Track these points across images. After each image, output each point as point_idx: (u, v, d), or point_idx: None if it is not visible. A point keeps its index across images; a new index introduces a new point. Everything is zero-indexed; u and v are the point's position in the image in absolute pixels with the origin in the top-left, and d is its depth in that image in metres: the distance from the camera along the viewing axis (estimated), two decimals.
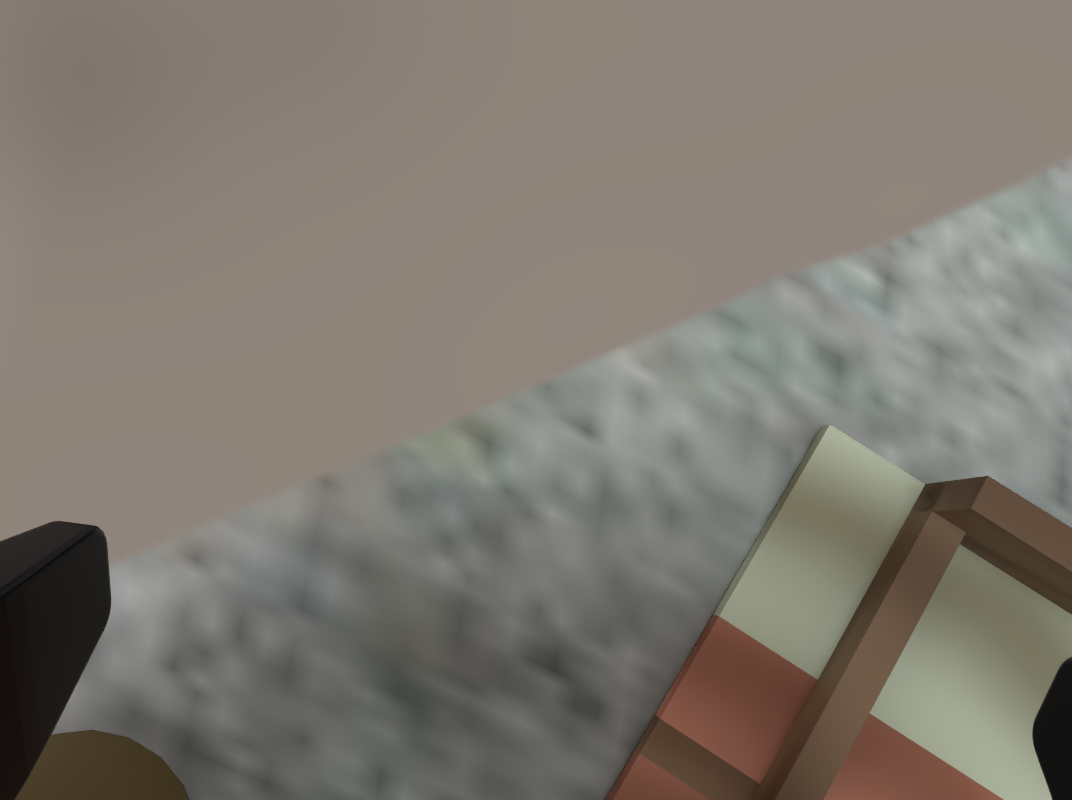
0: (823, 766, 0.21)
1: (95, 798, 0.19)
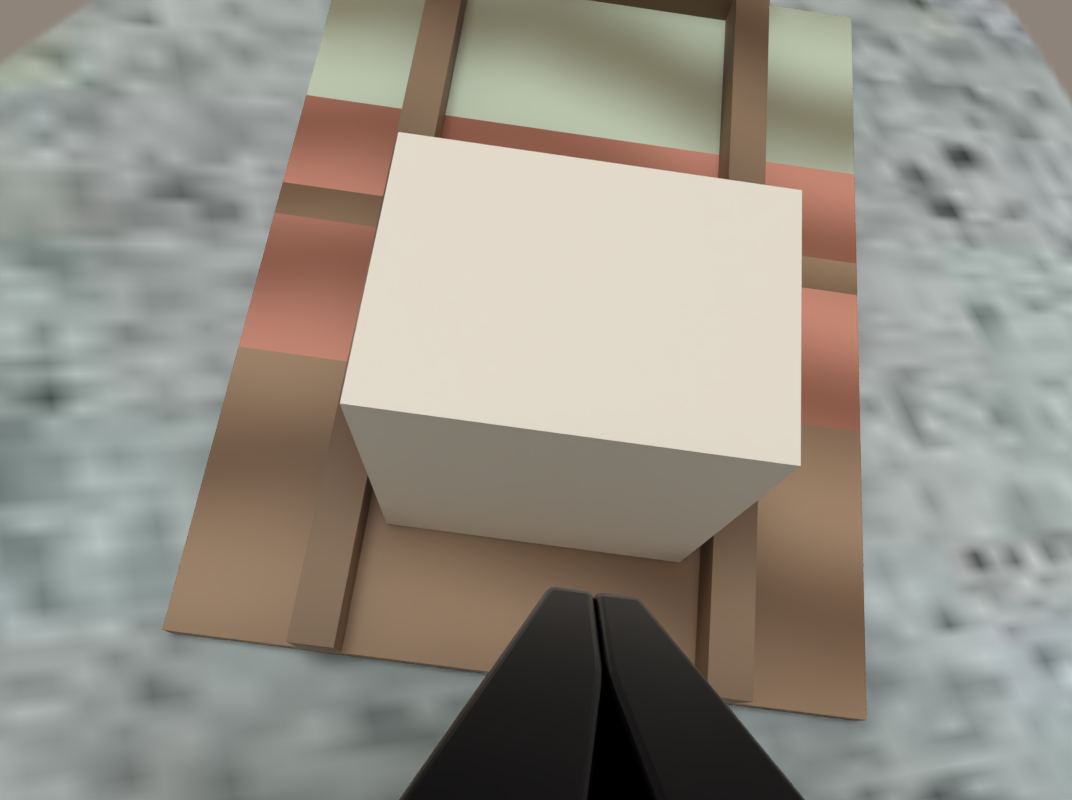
0: None
1: None
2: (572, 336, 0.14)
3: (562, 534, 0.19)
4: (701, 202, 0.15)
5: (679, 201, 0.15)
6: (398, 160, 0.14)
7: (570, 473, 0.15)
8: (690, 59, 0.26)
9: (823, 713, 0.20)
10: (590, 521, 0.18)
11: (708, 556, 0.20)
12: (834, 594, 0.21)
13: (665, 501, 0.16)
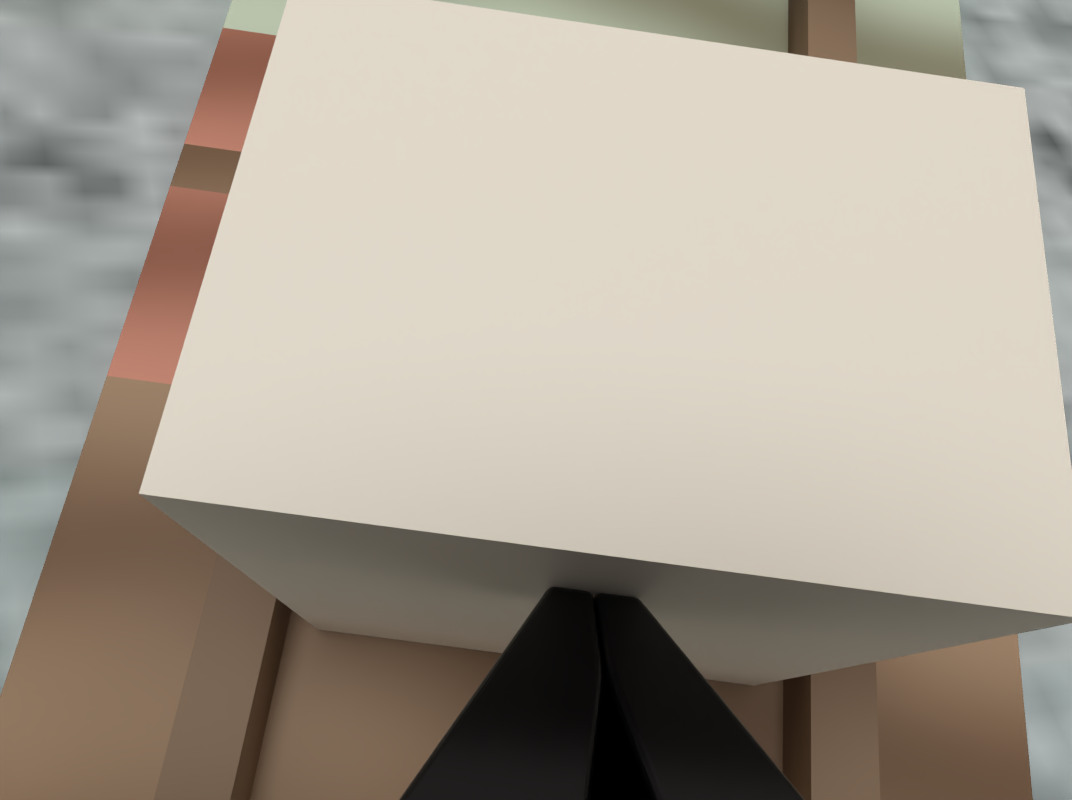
0: None
1: None
2: (617, 353, 0.07)
3: None
4: (847, 107, 0.08)
5: (807, 104, 0.08)
6: (290, 27, 0.08)
7: None
8: None
9: None
10: None
11: (801, 697, 0.13)
12: (985, 746, 0.14)
13: (768, 638, 0.09)
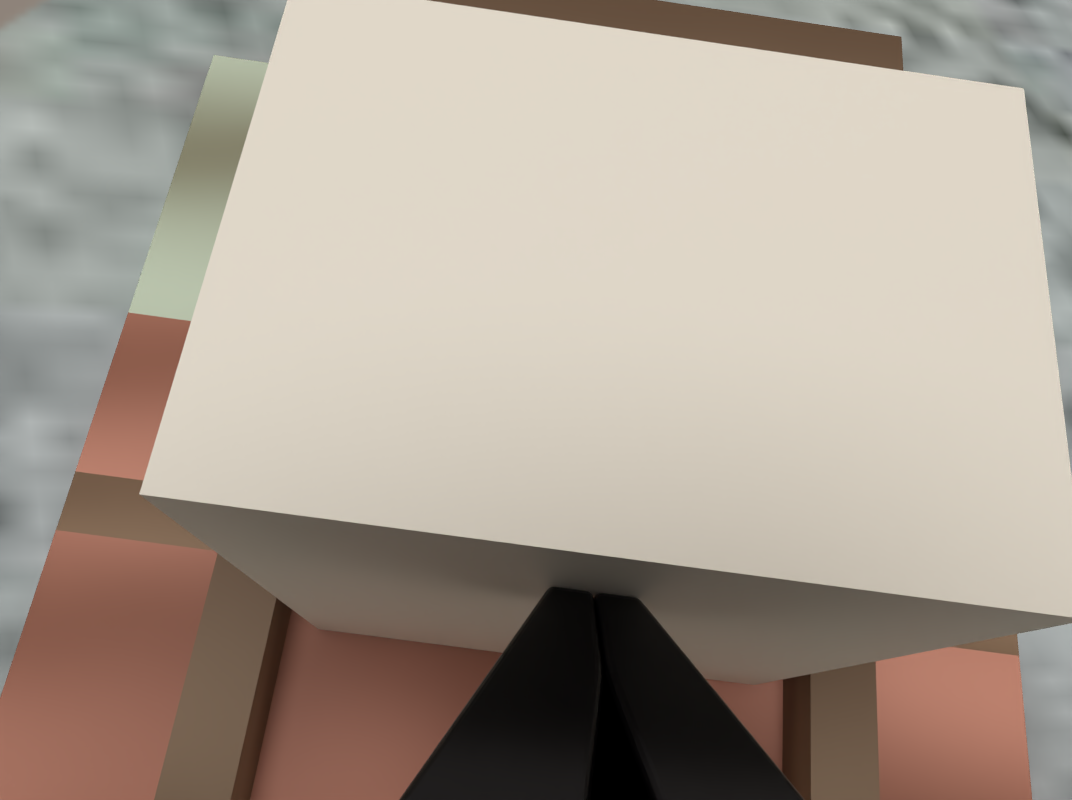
0: None
1: None
2: (617, 353, 0.07)
3: None
4: (847, 107, 0.08)
5: (807, 105, 0.08)
6: (290, 27, 0.08)
7: None
8: None
9: None
10: None
11: None
12: None
13: (767, 638, 0.09)
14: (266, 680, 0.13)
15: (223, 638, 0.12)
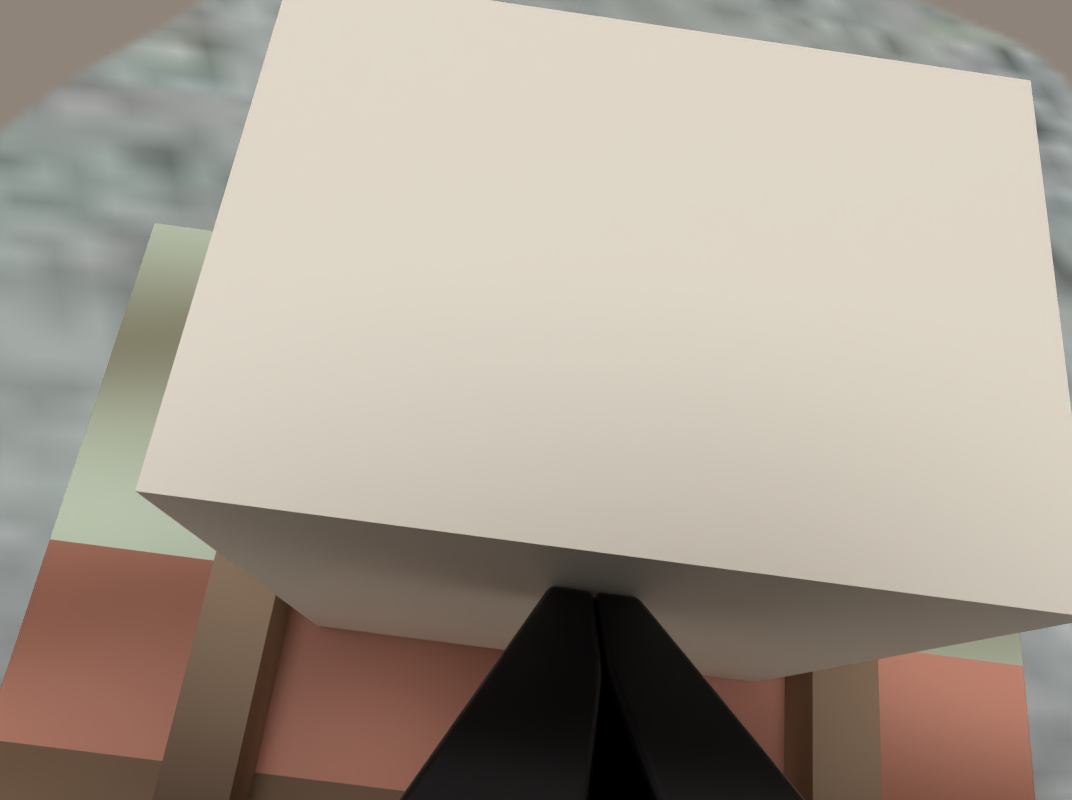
0: (230, 677, 0.12)
1: None
2: (619, 350, 0.07)
3: None
4: (851, 99, 0.08)
5: (811, 97, 0.08)
6: (288, 18, 0.08)
7: None
8: None
9: None
10: None
11: None
12: None
13: (770, 635, 0.09)
14: None
15: None
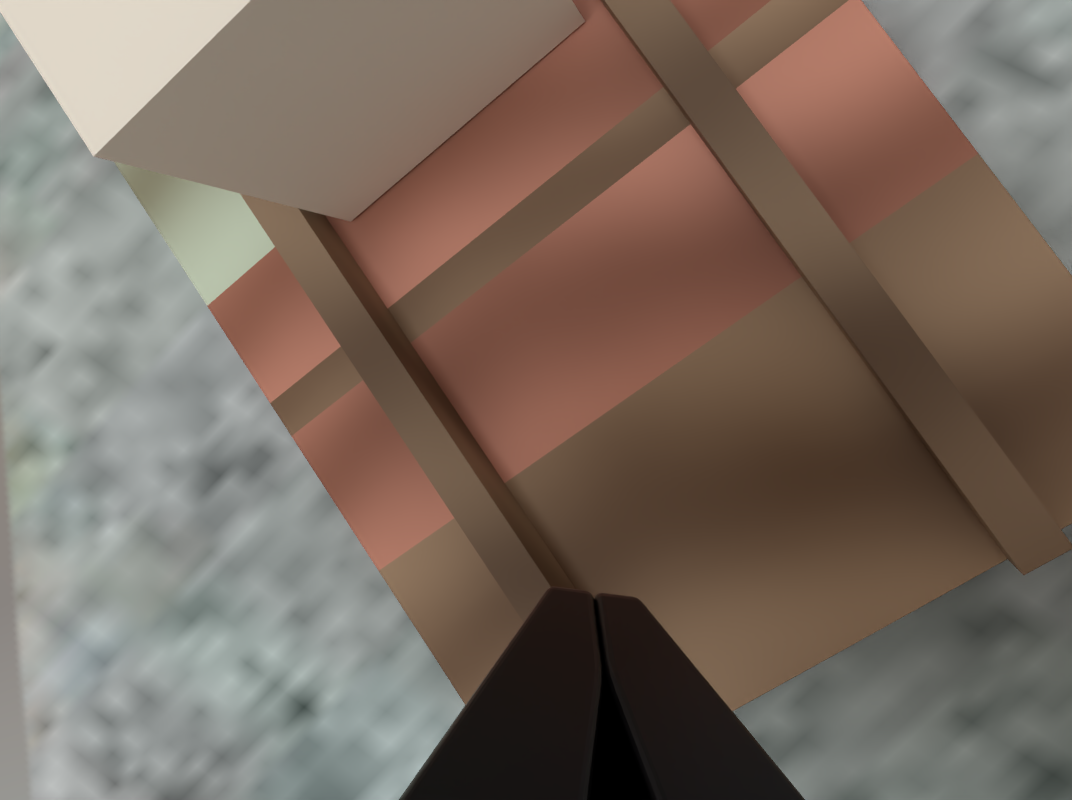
0: (323, 272, 0.20)
1: None
2: None
3: (460, 95, 0.18)
4: None
5: None
6: None
7: (339, 31, 0.14)
8: None
9: None
10: (448, 59, 0.17)
11: (921, 437, 0.17)
12: None
13: None
14: (444, 411, 0.20)
15: (403, 411, 0.19)
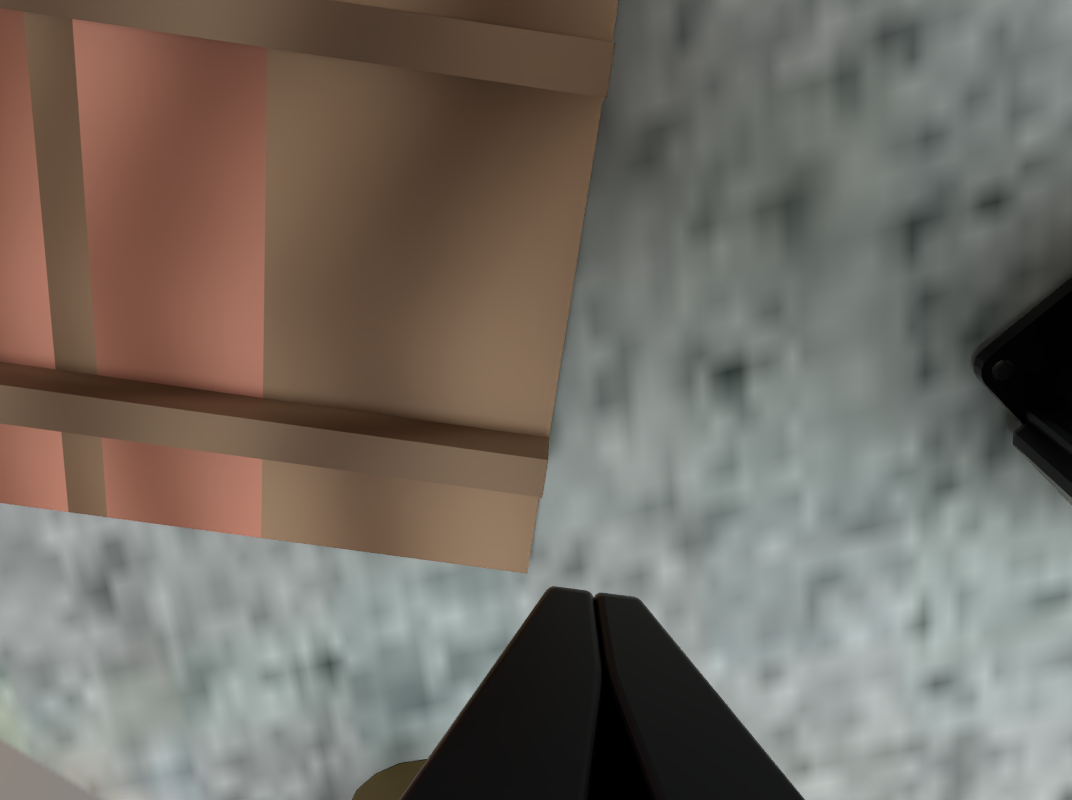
0: None
1: None
2: None
3: None
4: None
5: None
6: None
7: None
8: None
9: None
10: None
11: None
12: None
13: None
14: (164, 396, 0.20)
15: (134, 426, 0.20)
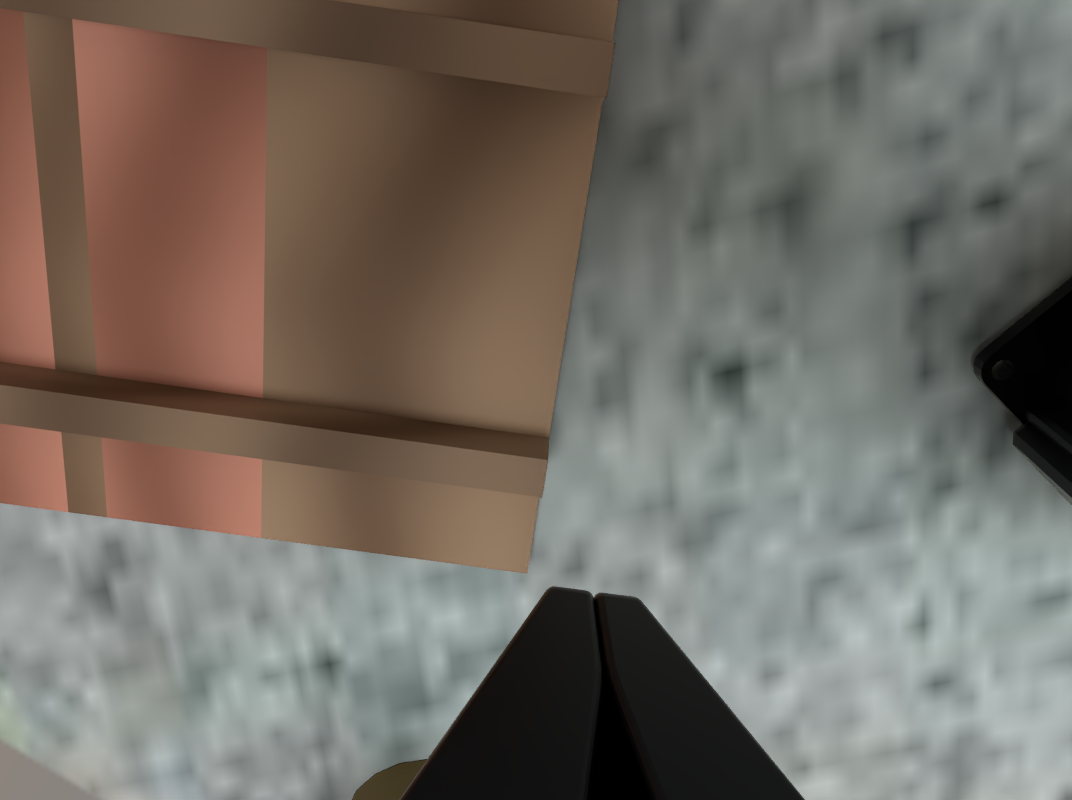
0: None
1: None
2: None
3: None
4: None
5: None
6: None
7: None
8: None
9: None
10: None
11: None
12: None
13: None
14: (164, 396, 0.20)
15: (134, 426, 0.20)
